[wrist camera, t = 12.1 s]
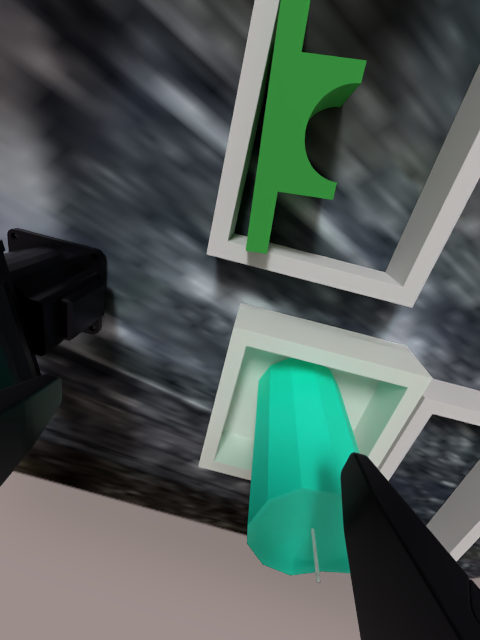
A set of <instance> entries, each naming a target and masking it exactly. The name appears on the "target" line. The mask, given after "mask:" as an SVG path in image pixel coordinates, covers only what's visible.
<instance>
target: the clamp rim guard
mask: <svg viewBox="0 0 480 640" xmlns="http://www.w3.org/2000/svg"><path fill="white" fill-rule="evenodd" d="M280 2H281V0H255V2H254V7H253V13H252V18H251V23H250V29H249V34H248V39H247V44H246V50H245V55H244V60H243V65H242V71H241V76H240V81H239V86H238V92H237V97H236V102H235V107H234V113H233V118H232V123H231V129H230V134H229V139H228V144H227V150H226V155H225V160H224V165H223V171H222V176H221V181H220V186H219V192H218V197H217V202H216V208H215V213H214V218H213V223H212V229H211V234H210V239H209V244H208V250H207V255H211V256H215V257H219V258H223V259H227V260H230V261H234V262H238V263H242V264H246V265H250V266H254V267H257V268H261V269H265V270H269V271H273V272H277V273H281V274H284V275H288V276H292V277H296V278H300V279H304V280H308V281H311V282H315V283H319V284H323V285H327V286H331V287H334V288H338V289H342V290H346V291H350V292H354V293H358V294H361V295H365V296H369V297H373V298H377V299H381V300H385V301H388V302H392V303H396V304H400V305H404V306H408V307H413V305H414V303H415V301H416V299H417V297H418V295H419V293H420V292H421V290H422V288H423V286H424V284H425V282H426V280H427V278H428V276H429V274H430V272H431V270H432V268H433V266H434V265H435V263H436V261H437V259H438V257H439V255H440V253H441V251H442V249H443V247H444V245H445V243H446V241H447V239H448V238H449V236H450V234H451V232H452V230H453V228H454V226H455V224H456V222H457V220H458V218H459V216H460V214H461V212H462V211H463V209H464V207H465V205H466V203H467V201H468V199H469V197H470V195H471V193H472V191H473V189H474V187H475V185H476V184H477V182H478V180H479V178H480V64H479V66H478V69H477V71H476V73H475V75H474V77H473V80H472V82H471V84H470V86H469V89H468V91H467V93H466V95H465V97H464V100H463V102H462V104H461V106H460V108H459V111H458V113H457V115H456V117H455V119H454V122H453V124H452V126H451V128H450V130H449V133H448V135H447V137H446V139H445V142H444V144H443V146H442V148H441V150H440V153H439V155H438V157H437V159H436V161H435V164H434V166H433V168H432V170H431V172H430V175H429V177H428V179H427V181H426V183H425V186H424V188H423V190H422V192H421V194H420V197H419V199H418V201H417V203H416V206H415V208H414V210H413V212H412V214H411V217H410V219H409V221H408V223H407V225H406V228H405V230H404V232H403V234H402V236H401V239H400V241H399V243H398V245H397V247H396V250H395V252H394V254H393V256H392V258H391V261H390V263H389V265H388V267H387V270H386V272H382V271H378V270H374V269H370V268H366V267H362V266H358V265H355V264H351V263H347V262H343V261H339V260H335V259H332V258H328V257H324V256H320V255H316V254H312V253H308V252H305V251H301V250H297V249H293V248H289V247H285V246H282V245H278V244H274V243H270V242H269V246H268V251H267V254H263V253H257V252H250V251H246V244H247V236H243V235H239V234H235V233H234V231H235V226H236V222H237V217H238V213H239V208H240V204H241V199H242V195H243V190H244V186H245V181H246V177H247V172H248V168H249V163H250V159H251V154H252V150H253V145H254V141H255V136H256V132H257V127H258V123H259V118H260V114H261V109H262V105H263V100H264V96H265V91H266V87H267V82H268V78H269V73H270V69H271V64H272V59H273V52H274V45H275V37H276V30H277V23H278V16H279V9H280Z"/></svg>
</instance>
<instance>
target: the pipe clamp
mask: <svg viewBox="0 0 480 640" xmlns="http://www.w3.org/2000/svg"><path fill="white" fill-rule="evenodd" d="M309 5H310V0H281V2H280V9H279V16H278V23H277V30H276V37H275V45H274V52H273V59H272V66H271V73H270V80H269V87H268V94H267V101H266V109H265V116H264V123H263V130H262V137H261V144H260V151H259V158H258V165H257V173H256V180H255V187H254V194H253V201H252V208H251V215H250V222H249V230H248V237H247V244H246V251H250V252H257V253H263V254H267V251H268V246H269V240H270V234H271V228H272V222H273V216H274V210H275V205H276V199H277V193H278V192H284V193H290V194H297V195H304V196H311V197H318V198H324V199H331V200H333V197H334V193H335V189H336V185H337V182H332V181H329V180H327V179H325V178H323V177H322V176H320V175H319V174H318V173H317V172H316V171H315V170H314V169H313V167H312V166H311V164H310V162H309V160H308V158H307V154H306V150H305V131H306V126H307V123H308V121H309V119H310V118H311V117H313V116H314V115H315V114H316V113H318V112H320V111H321V110H324V109H326V108H330V107H341V106H342V104H343V103H344V102H345V101H346V100H347V99H348V98H349V96H350V95H351V94H352V93H353V92H354V91H355V90H356V89H357V87H358V86H359V85H360V84H361V82H362V77H363V73H364V69H365V65H366V60H358V59H351V58H343V57H336V56H328V55H320V54H313V53H305V52H302V46H303V41H304V35H305V29H306V23H307V17H308V11H309Z"/></svg>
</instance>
